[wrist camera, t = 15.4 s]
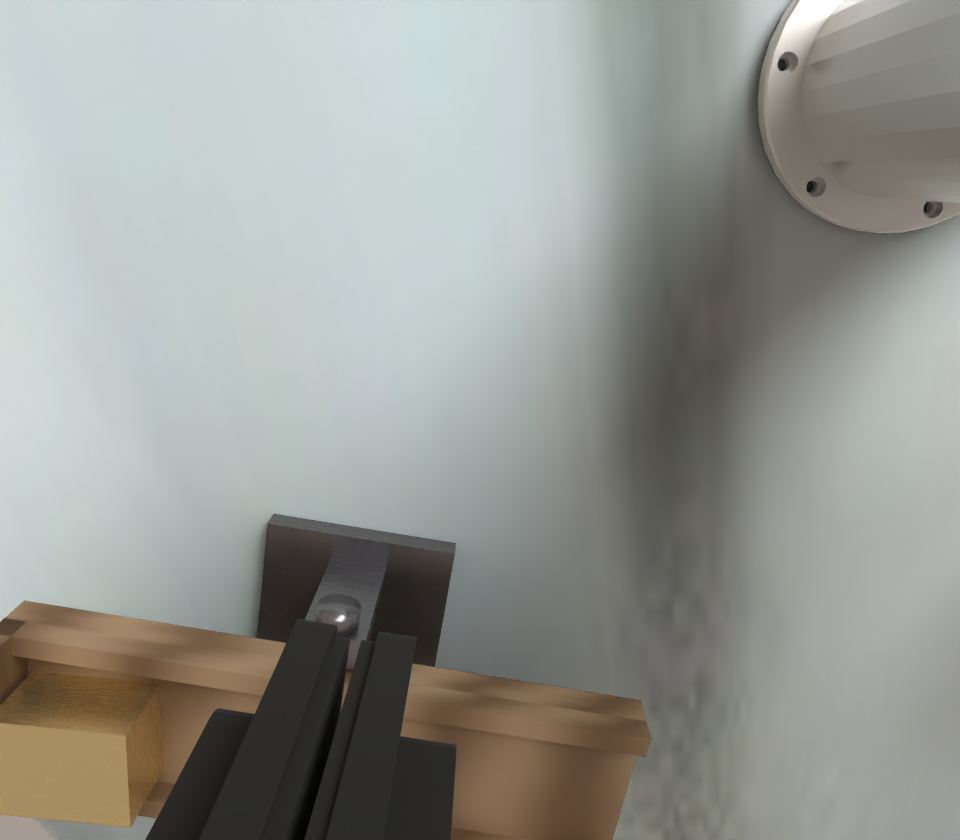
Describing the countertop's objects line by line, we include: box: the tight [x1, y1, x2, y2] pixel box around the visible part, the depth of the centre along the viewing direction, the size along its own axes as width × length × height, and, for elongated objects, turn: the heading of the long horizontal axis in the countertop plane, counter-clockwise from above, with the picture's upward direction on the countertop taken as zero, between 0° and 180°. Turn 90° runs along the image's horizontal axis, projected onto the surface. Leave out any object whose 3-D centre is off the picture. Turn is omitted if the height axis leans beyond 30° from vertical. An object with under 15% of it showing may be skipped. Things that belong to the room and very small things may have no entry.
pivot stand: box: [257, 514, 456, 670], centre depth 41 cm, size 10×16×8 cm, turn 170°
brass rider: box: [0, 671, 163, 827], centre depth 35 cm, size 6×5×4 cm
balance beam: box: [0, 601, 651, 840], centre depth 36 cm, size 30×9×4 cm, turn 80°
